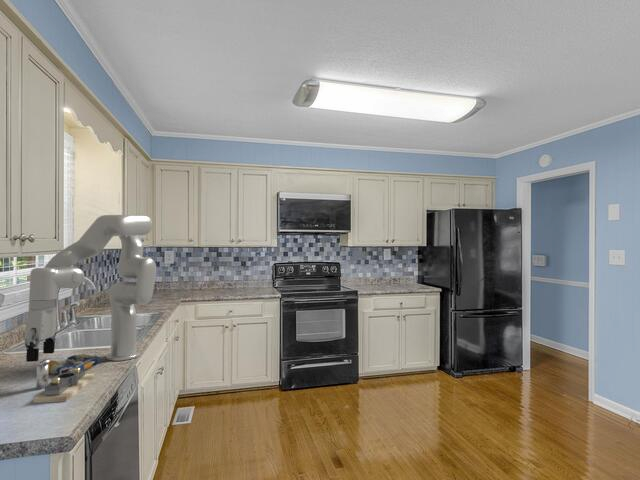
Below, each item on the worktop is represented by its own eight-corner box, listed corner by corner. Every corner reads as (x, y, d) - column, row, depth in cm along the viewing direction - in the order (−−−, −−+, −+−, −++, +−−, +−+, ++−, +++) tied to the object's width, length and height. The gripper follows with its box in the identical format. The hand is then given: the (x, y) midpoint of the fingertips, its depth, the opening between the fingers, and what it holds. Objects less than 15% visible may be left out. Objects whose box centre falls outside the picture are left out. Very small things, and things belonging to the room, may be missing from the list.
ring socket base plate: (65, 379, 131) (66, 362, 131) (93, 377, 133) (94, 360, 133) (33, 403, 111) (33, 382, 111) (66, 401, 113) (67, 381, 113)
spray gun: (30, 379, 131) (74, 379, 132) (31, 367, 131) (75, 367, 132) (68, 362, 152) (105, 362, 153) (68, 351, 152) (106, 352, 153)
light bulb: (38, 385, 125) (39, 358, 125) (52, 384, 126) (53, 358, 126) (31, 390, 121) (32, 362, 121) (45, 389, 122) (46, 361, 122)
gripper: (44, 301, 131) (42, 350, 131) (14, 308, 114) (11, 365, 114) (68, 301, 133) (66, 350, 132) (41, 308, 116) (38, 364, 115)
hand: (40, 357), depth 123 cm, fingers open, 9 cm apart
